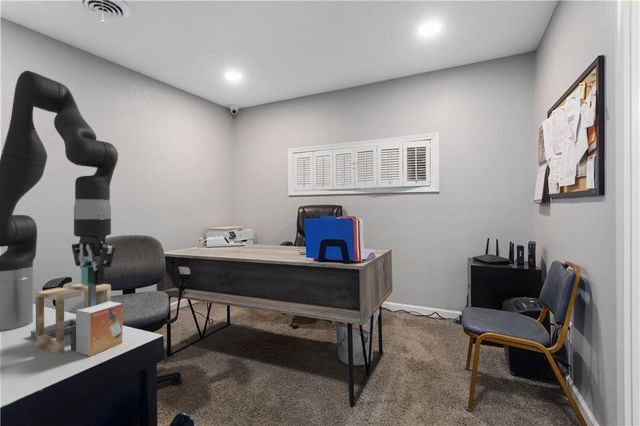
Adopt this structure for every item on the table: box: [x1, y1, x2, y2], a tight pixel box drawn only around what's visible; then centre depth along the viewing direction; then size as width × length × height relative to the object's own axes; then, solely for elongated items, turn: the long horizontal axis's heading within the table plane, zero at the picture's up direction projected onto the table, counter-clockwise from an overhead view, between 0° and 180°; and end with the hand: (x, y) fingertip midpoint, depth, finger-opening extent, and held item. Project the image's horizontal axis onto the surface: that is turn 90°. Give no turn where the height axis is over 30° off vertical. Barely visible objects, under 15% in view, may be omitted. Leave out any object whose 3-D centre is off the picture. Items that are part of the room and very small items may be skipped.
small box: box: [75, 301, 124, 357], centre depth 73 cm, size 8×6×10 cm
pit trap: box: [30, 318, 76, 339], centre depth 82 cm, size 7×10×2 cm
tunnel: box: [35, 282, 112, 355], centre depth 77 cm, size 10×12×14 cm
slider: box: [70, 265, 96, 352], centre depth 74 cm, size 2×9×20 cm, turn 159°
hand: (93, 283), depth 74 cm, fingers open, 4 cm apart
